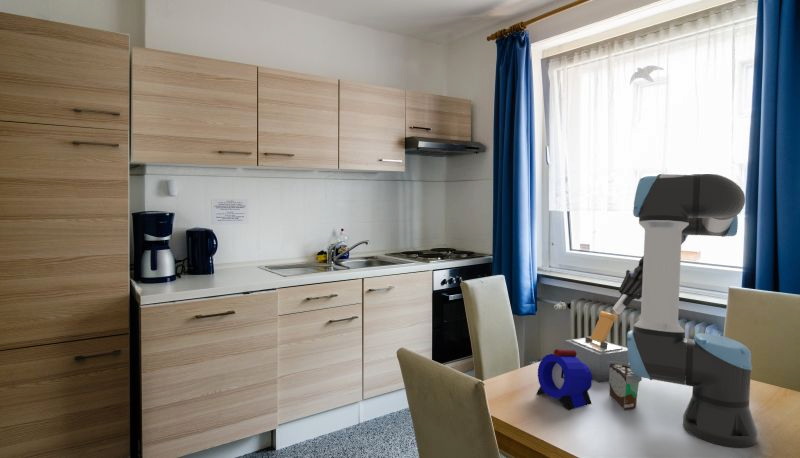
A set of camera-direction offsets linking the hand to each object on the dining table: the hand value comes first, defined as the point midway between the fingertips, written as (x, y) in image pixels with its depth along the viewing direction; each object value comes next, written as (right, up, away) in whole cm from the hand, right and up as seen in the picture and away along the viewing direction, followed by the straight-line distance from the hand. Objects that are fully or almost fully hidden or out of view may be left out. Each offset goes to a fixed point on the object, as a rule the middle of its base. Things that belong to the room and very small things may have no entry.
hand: (616, 311), depth 159 cm
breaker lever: (-8, -10, -3) cm, 13 cm away
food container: (-9, -22, -26) cm, 35 cm away
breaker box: (-8, -20, -2) cm, 21 cm away
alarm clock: (-25, -21, -23) cm, 40 cm away
